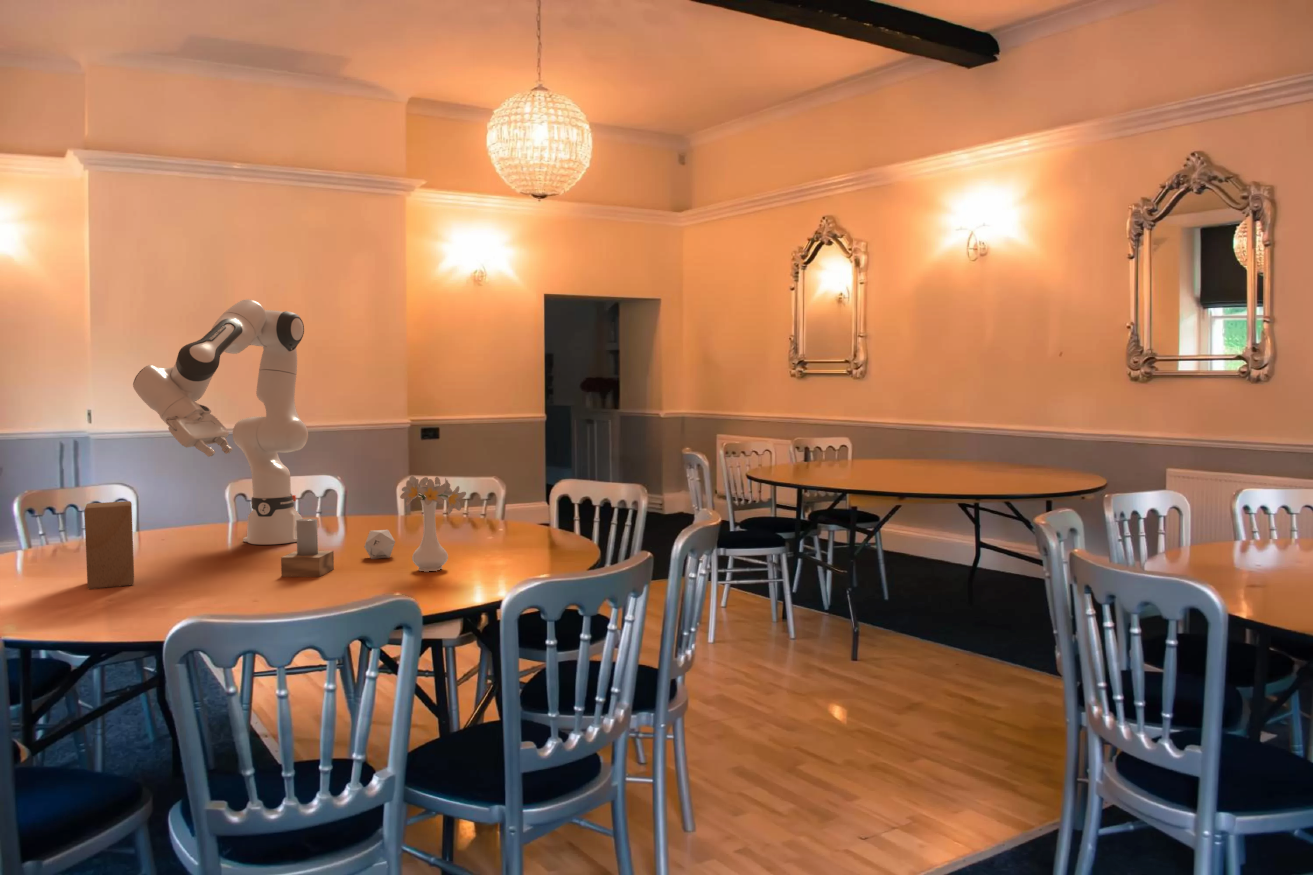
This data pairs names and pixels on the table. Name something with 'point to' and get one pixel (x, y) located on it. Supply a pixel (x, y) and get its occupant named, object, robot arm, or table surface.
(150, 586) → the table surface
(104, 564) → the wooden block
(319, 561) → the oak block
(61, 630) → the table surface
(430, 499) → the flower vase
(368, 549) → the die
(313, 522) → the grey square pillar
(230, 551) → the table surface
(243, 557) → the table surface
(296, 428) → the robot arm
